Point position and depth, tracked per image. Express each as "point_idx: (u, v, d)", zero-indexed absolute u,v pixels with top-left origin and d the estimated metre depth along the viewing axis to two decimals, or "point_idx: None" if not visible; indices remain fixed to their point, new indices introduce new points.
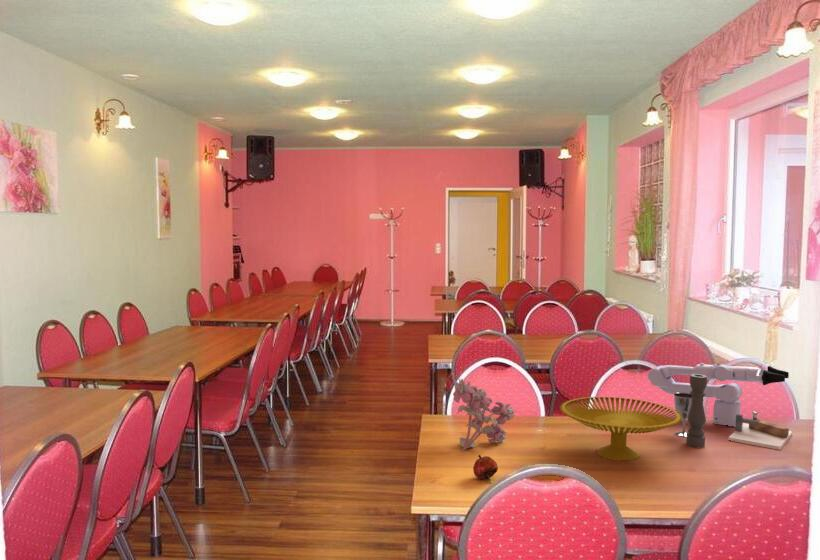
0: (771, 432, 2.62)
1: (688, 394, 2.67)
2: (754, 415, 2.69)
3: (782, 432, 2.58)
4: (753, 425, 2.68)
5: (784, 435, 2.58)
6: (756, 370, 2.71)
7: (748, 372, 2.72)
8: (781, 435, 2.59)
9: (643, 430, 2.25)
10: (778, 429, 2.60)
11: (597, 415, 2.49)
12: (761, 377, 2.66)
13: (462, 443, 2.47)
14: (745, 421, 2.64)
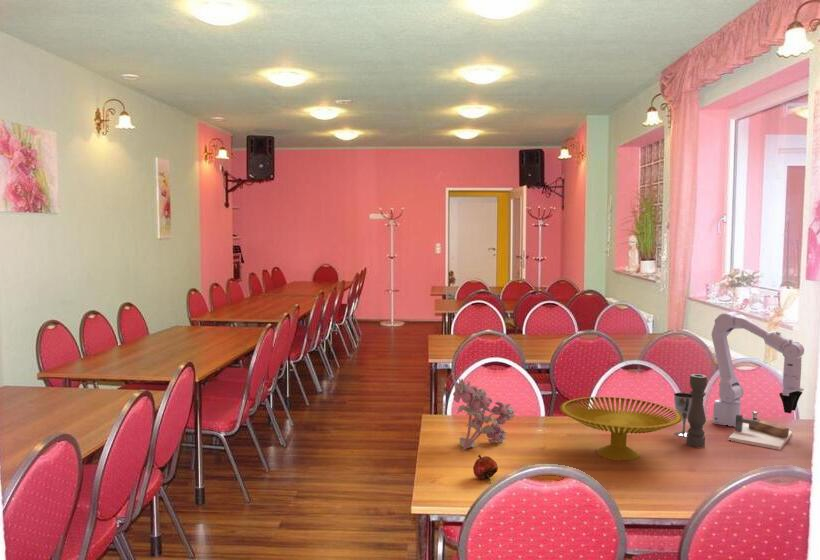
0: (771, 432, 2.62)
1: (688, 394, 2.67)
2: (754, 415, 2.69)
3: (782, 432, 2.58)
4: (753, 425, 2.68)
5: (784, 435, 2.58)
6: (795, 386, 2.60)
7: (793, 379, 2.60)
8: (781, 435, 2.59)
9: (643, 430, 2.25)
10: (778, 429, 2.60)
11: (597, 415, 2.49)
12: None
13: (462, 443, 2.47)
14: (745, 421, 2.64)
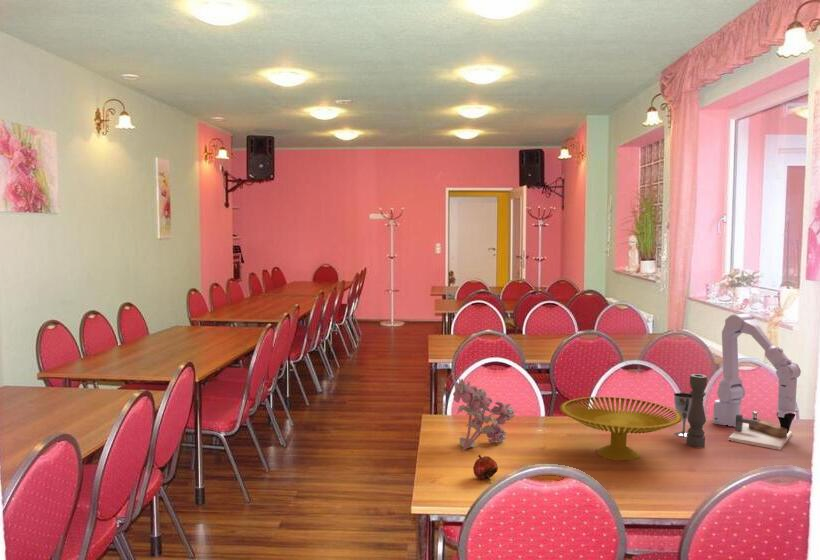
0: (769, 432, 2.62)
1: (688, 394, 2.67)
2: (754, 415, 2.69)
3: (779, 432, 2.58)
4: (753, 425, 2.68)
5: (782, 435, 2.58)
6: (791, 408, 2.57)
7: (788, 400, 2.57)
8: (779, 435, 2.58)
9: (643, 430, 2.25)
10: (776, 429, 2.59)
11: (597, 415, 2.49)
12: (781, 417, 2.55)
13: (462, 443, 2.47)
14: (745, 421, 2.64)
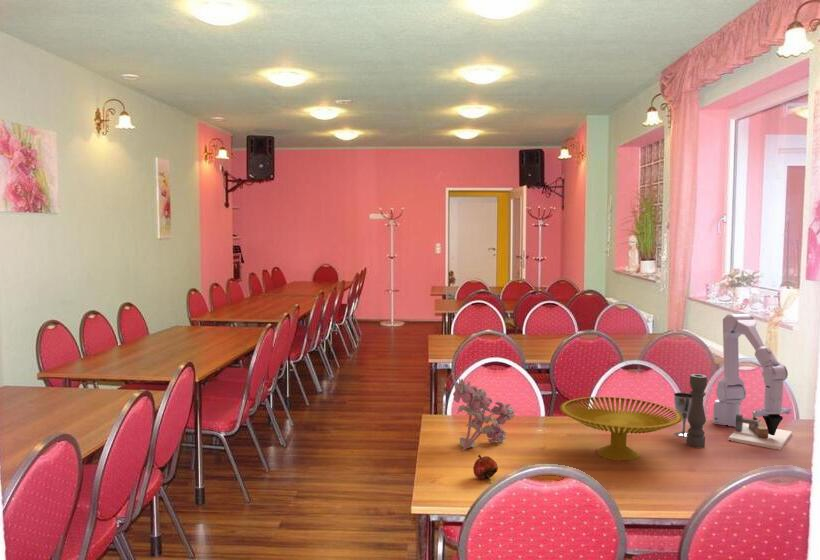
0: (755, 432, 2.62)
1: (688, 394, 2.67)
2: (754, 415, 2.69)
3: (758, 432, 2.58)
4: (750, 424, 2.69)
5: (761, 435, 2.58)
6: (773, 409, 2.55)
7: (770, 401, 2.56)
8: (758, 435, 2.59)
9: (643, 430, 2.25)
10: (757, 429, 2.60)
11: (597, 415, 2.49)
12: (758, 416, 2.56)
13: (462, 443, 2.47)
14: (745, 421, 2.64)
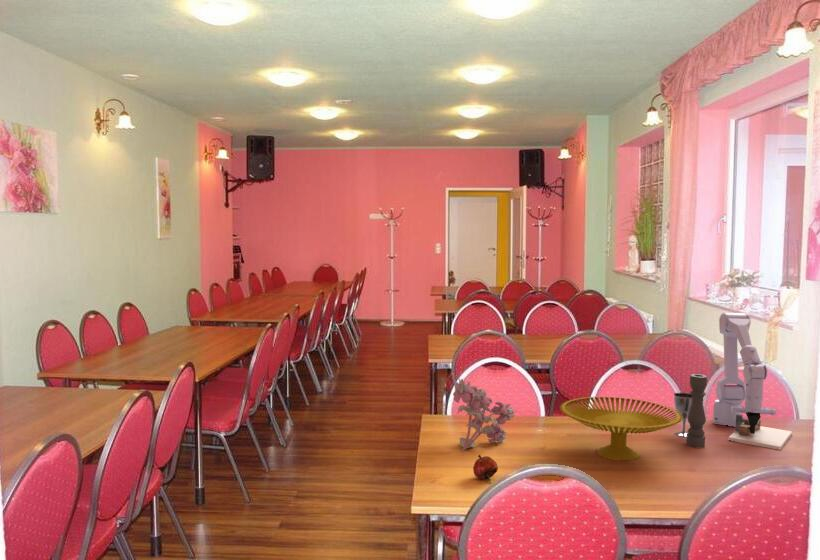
0: None
1: (688, 394, 2.67)
2: None
3: None
4: None
5: (740, 432, 2.61)
6: (748, 407, 2.58)
7: (746, 399, 2.59)
8: None
9: (643, 430, 2.25)
10: None
11: (597, 415, 2.49)
12: None
13: (462, 443, 2.47)
14: (745, 421, 2.64)
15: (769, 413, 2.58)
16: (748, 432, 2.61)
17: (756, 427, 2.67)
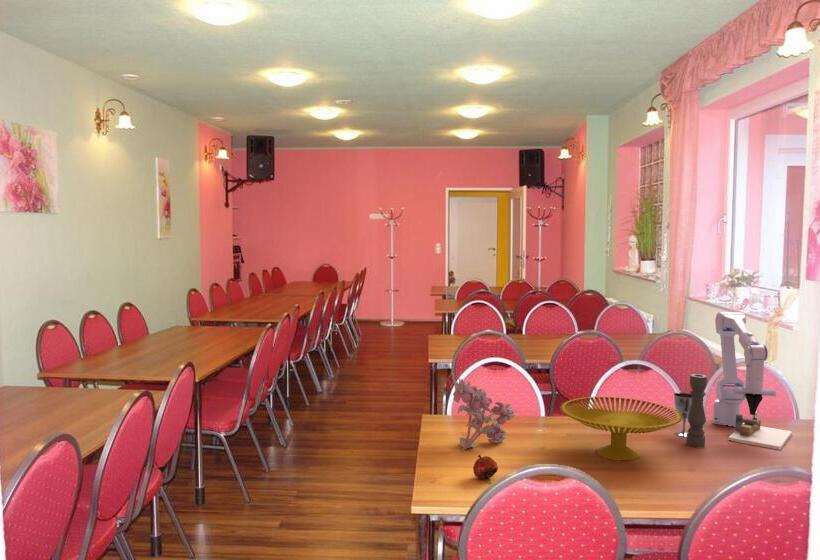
0: None
1: (688, 394, 2.67)
2: (754, 415, 2.69)
3: None
4: None
5: (742, 432, 2.61)
6: (749, 388, 2.57)
7: (747, 380, 2.58)
8: None
9: (643, 430, 2.25)
10: None
11: (597, 415, 2.49)
12: None
13: (462, 443, 2.47)
14: (745, 421, 2.64)
15: (770, 394, 2.57)
16: (749, 432, 2.60)
17: (756, 427, 2.67)
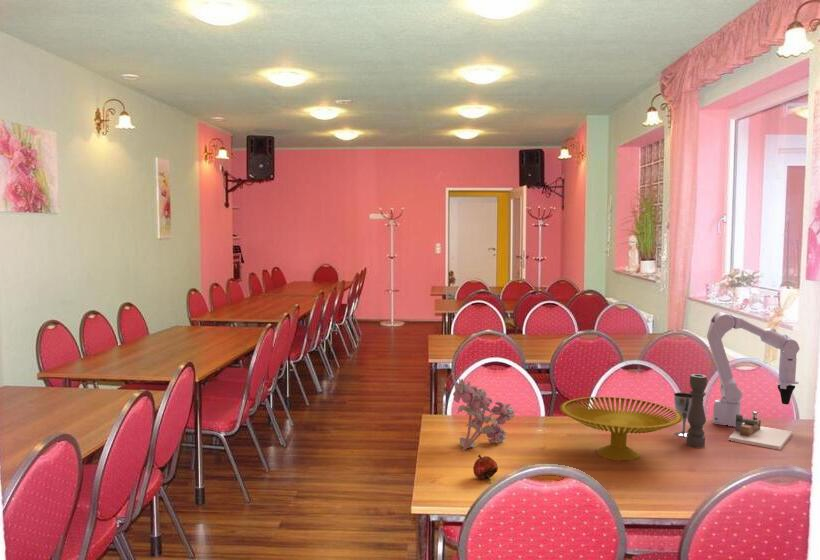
0: None
1: (688, 394, 2.67)
2: (754, 415, 2.69)
3: None
4: None
5: (742, 432, 2.61)
6: (791, 380, 2.71)
7: (789, 373, 2.71)
8: None
9: (643, 430, 2.25)
10: None
11: (597, 415, 2.49)
12: (784, 388, 2.69)
13: (462, 443, 2.47)
14: (745, 421, 2.64)
15: None
16: (749, 432, 2.60)
17: (756, 427, 2.67)
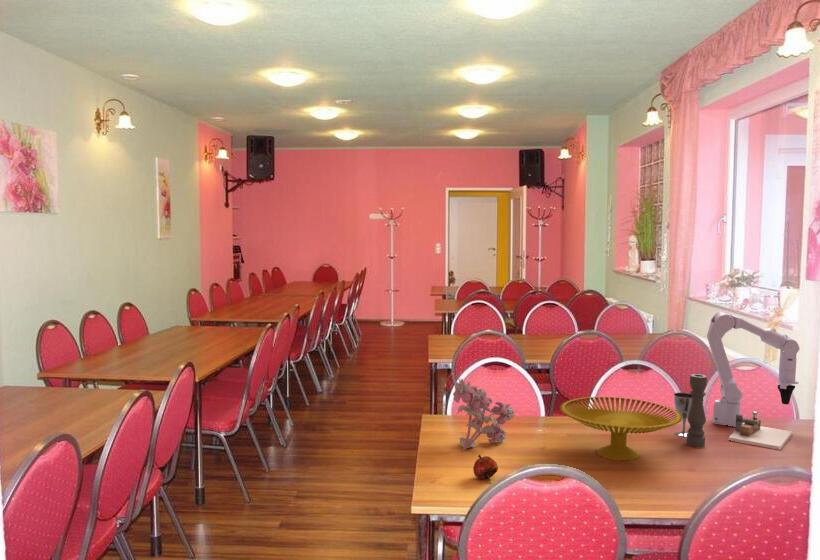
0: None
1: (688, 394, 2.67)
2: (754, 415, 2.69)
3: None
4: None
5: (742, 432, 2.61)
6: (791, 380, 2.71)
7: (789, 373, 2.71)
8: None
9: (643, 430, 2.25)
10: None
11: (597, 415, 2.49)
12: (784, 388, 2.69)
13: (462, 443, 2.47)
14: (745, 421, 2.64)
15: None
16: (749, 432, 2.60)
17: (756, 427, 2.67)
